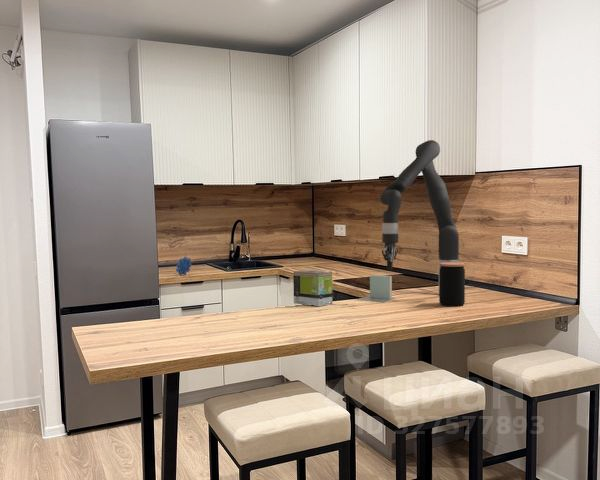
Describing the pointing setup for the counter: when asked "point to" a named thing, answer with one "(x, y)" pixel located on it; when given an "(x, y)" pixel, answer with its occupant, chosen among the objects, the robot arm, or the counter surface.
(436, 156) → the robot arm
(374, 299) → the slate board
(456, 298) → the coffee jar
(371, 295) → the tile
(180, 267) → the grapes
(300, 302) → the tea box
